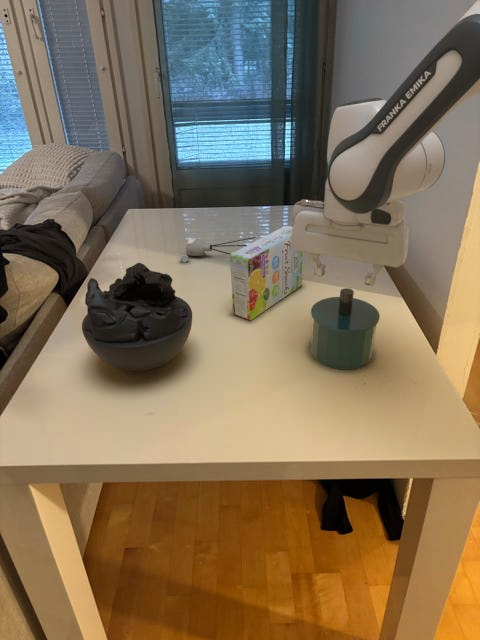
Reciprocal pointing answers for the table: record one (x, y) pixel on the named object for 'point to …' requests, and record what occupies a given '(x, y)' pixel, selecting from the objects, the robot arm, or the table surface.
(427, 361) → the table surface
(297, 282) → the snack box
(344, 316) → the lid
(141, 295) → the bowl of black rocks
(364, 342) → the pot
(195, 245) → the reed diffuser
